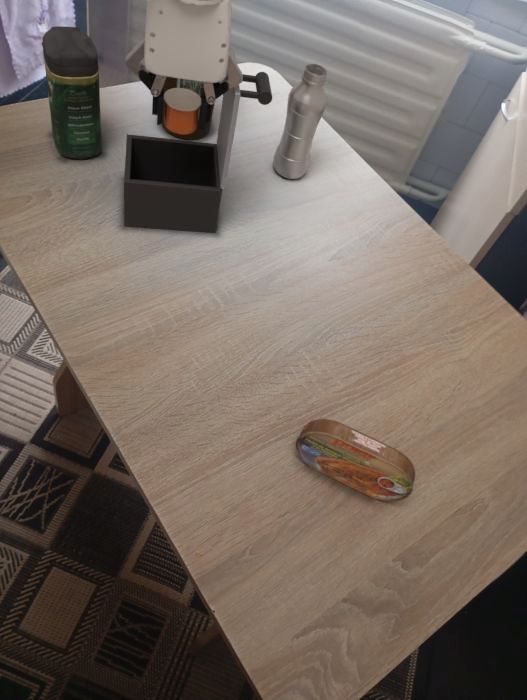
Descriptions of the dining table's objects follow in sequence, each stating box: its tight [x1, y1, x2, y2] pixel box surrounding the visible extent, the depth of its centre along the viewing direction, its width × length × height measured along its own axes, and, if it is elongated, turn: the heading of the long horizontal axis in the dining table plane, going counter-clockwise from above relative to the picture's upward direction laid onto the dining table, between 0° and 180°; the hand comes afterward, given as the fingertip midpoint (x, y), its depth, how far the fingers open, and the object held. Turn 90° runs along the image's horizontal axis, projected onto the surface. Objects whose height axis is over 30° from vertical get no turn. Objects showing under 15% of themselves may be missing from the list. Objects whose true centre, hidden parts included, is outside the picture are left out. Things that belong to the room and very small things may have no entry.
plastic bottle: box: [273, 63, 328, 180], centre depth 98 cm, size 6×7×20 cm
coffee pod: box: [164, 88, 201, 134], centre depth 76 cm, size 5×5×4 cm
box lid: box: [216, 47, 273, 190], centre depth 83 cm, size 15×12×6 cm
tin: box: [294, 418, 416, 502], centre depth 69 cm, size 15×3×8 cm, turn 66°
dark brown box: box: [123, 133, 223, 234], centre depth 91 cm, size 15×12×9 cm
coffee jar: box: [41, 25, 102, 160], centre depth 92 cm, size 10×8×19 cm
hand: (180, 120), depth 77 cm, fingers closed on coffee pod, 5 cm apart
